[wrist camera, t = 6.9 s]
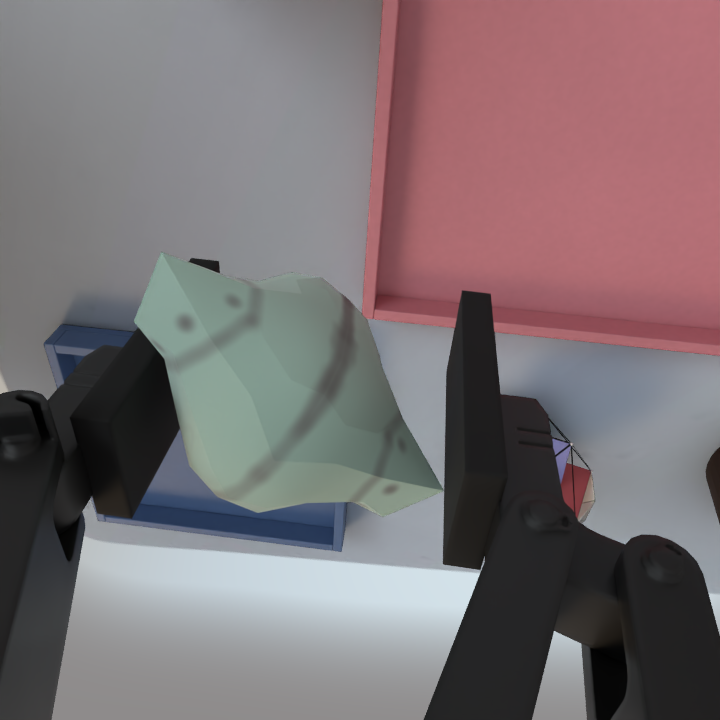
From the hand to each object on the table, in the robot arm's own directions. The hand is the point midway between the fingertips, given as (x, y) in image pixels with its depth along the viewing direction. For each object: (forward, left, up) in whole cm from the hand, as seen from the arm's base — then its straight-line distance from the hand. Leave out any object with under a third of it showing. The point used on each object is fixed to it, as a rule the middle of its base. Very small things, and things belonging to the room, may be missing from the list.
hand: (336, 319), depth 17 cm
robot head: (-1, 0, -1) cm, 1 cm away
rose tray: (+10, +1, -14) cm, 17 cm away
